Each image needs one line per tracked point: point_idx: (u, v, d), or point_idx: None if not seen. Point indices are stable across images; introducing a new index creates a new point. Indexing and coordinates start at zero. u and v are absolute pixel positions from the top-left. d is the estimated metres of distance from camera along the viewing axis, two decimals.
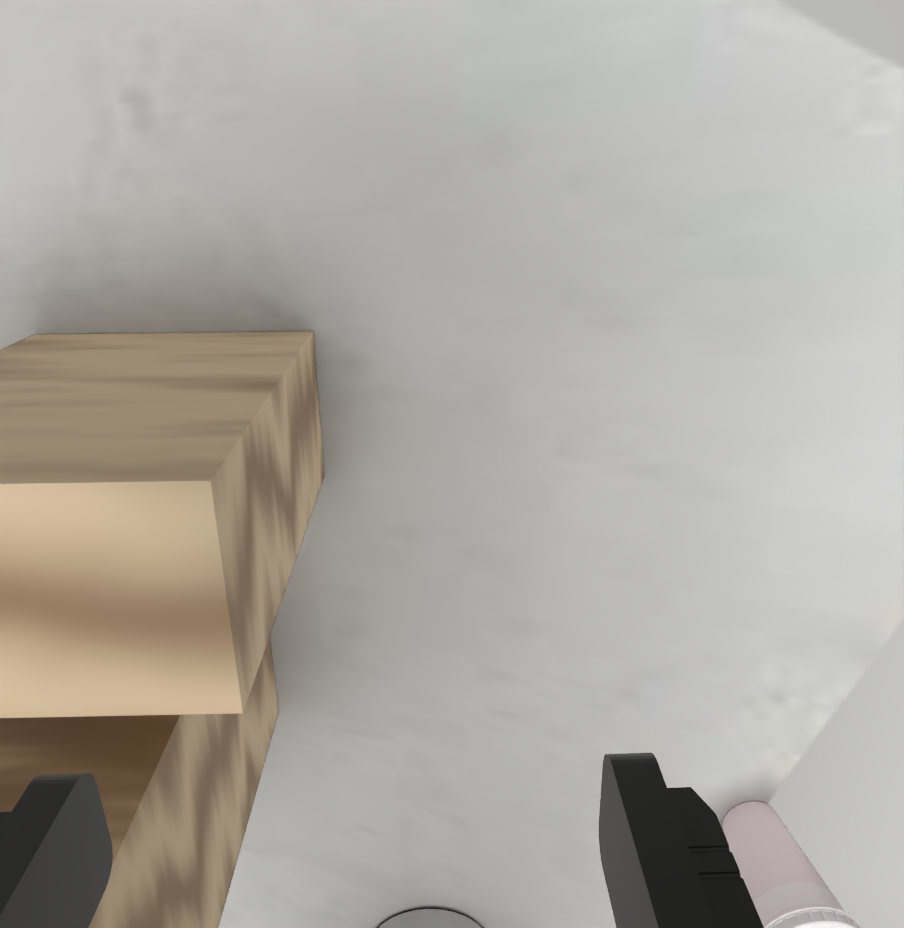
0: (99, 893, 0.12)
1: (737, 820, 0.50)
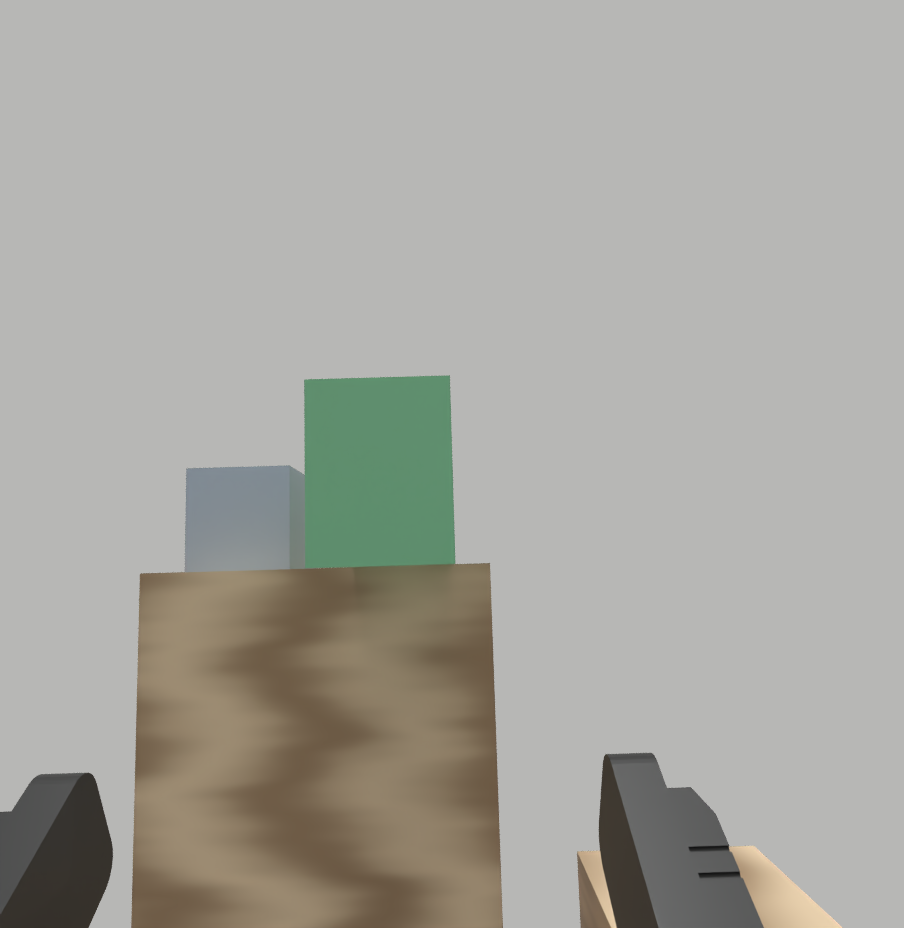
0: (99, 893, 0.12)
1: None
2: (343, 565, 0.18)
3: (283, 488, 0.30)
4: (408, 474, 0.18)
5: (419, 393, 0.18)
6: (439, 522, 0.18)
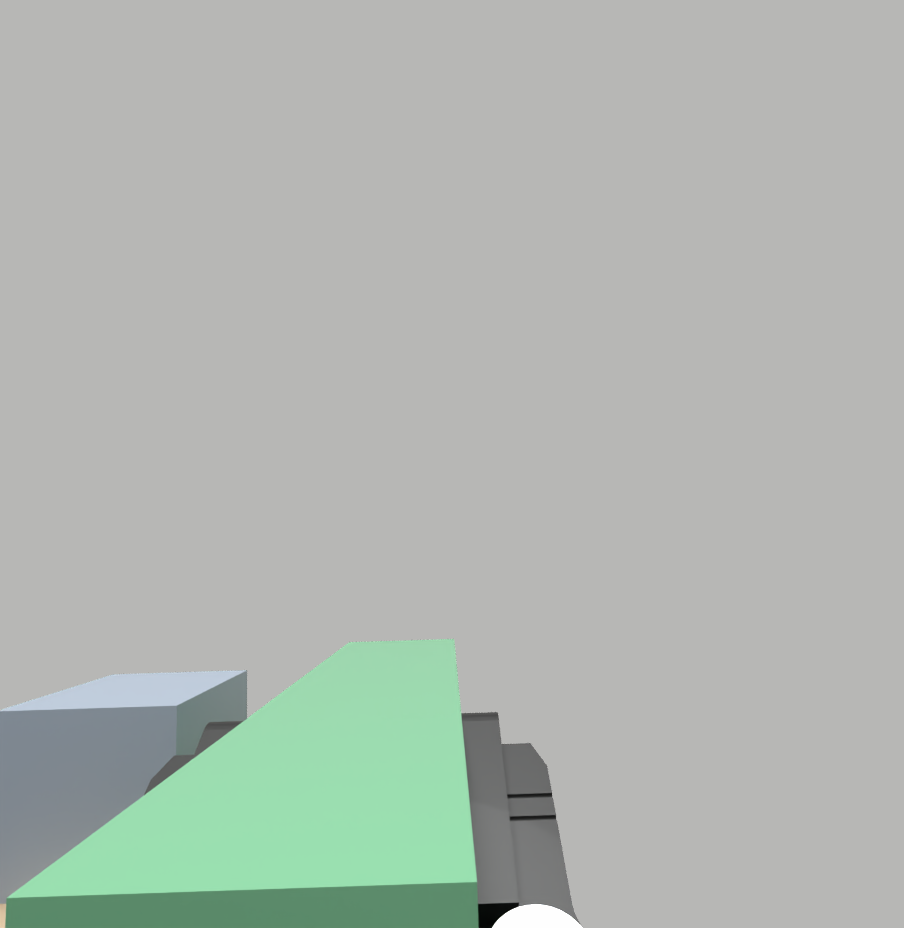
0: None
1: None
2: None
3: (164, 747, 0.17)
4: None
5: None
6: None
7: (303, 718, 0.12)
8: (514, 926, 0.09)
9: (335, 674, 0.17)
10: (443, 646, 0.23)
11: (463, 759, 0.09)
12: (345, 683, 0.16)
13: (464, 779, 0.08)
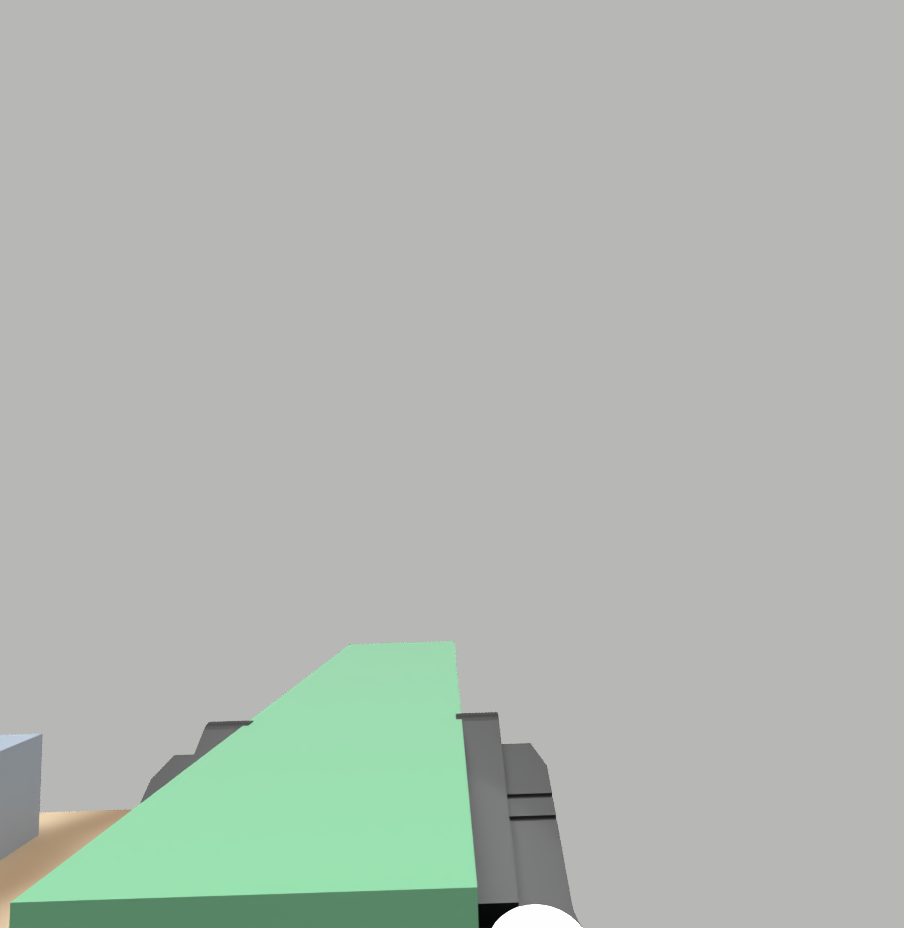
0: None
1: None
2: None
3: None
4: None
5: None
6: None
7: (304, 721, 0.12)
8: (514, 926, 0.09)
9: (336, 677, 0.18)
10: (443, 648, 0.23)
11: (463, 763, 0.09)
12: (346, 686, 0.16)
13: (464, 783, 0.09)
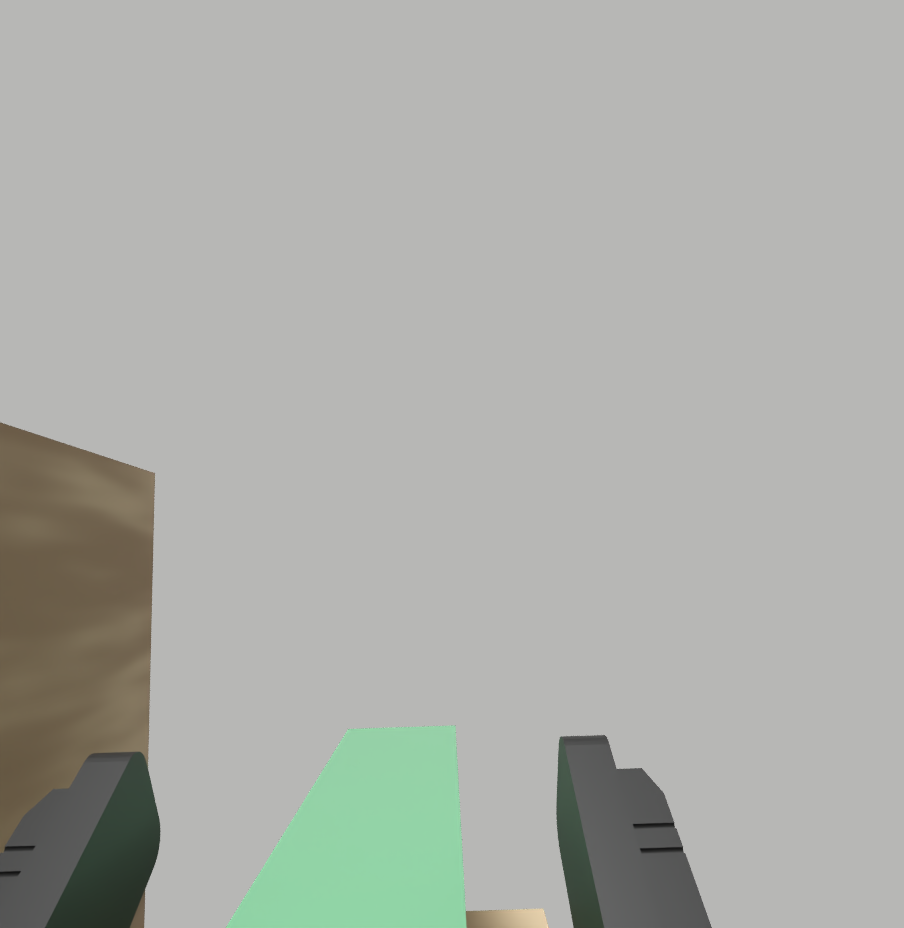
0: (149, 868, 0.12)
1: None
2: None
3: None
4: None
5: None
6: None
7: (299, 905, 0.12)
8: None
9: (333, 803, 0.17)
10: (444, 742, 0.23)
11: None
12: (344, 823, 0.16)
13: None
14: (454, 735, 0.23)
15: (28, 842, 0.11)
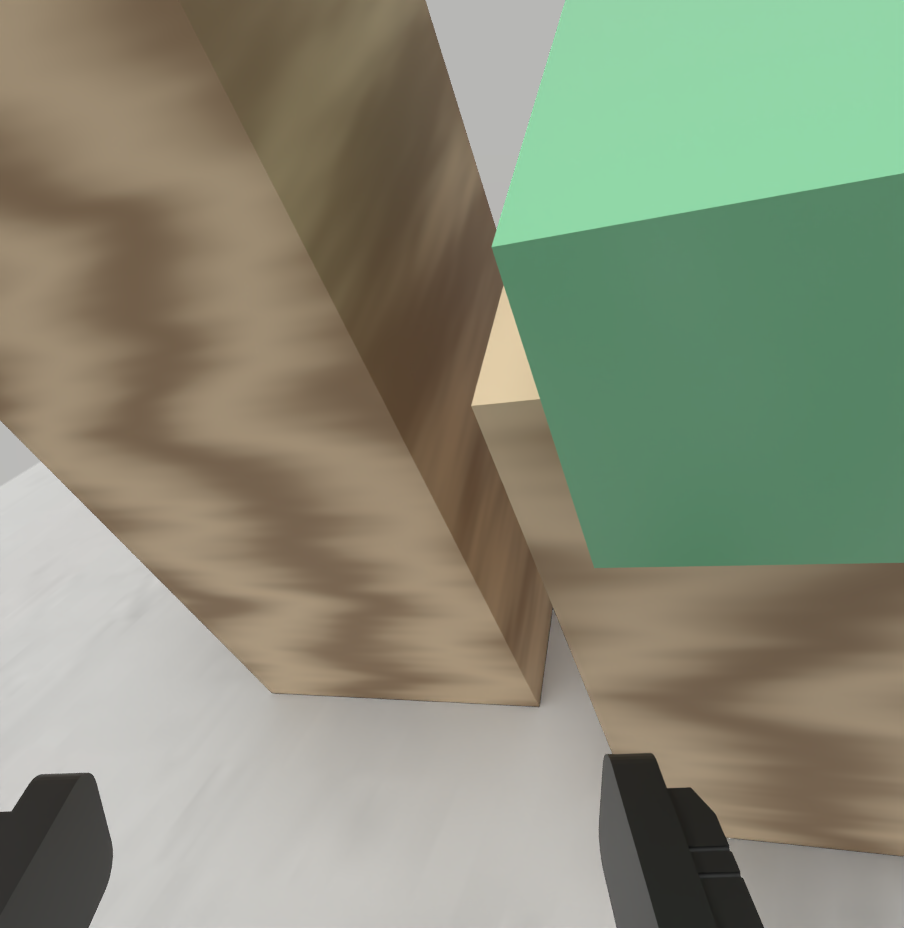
0: (99, 893, 0.12)
1: None
2: (670, 565, 0.09)
3: None
4: (819, 426, 0.07)
5: (871, 232, 0.05)
6: (899, 505, 0.07)
7: None
8: None
9: None
10: None
11: None
12: None
13: None
14: None
15: None
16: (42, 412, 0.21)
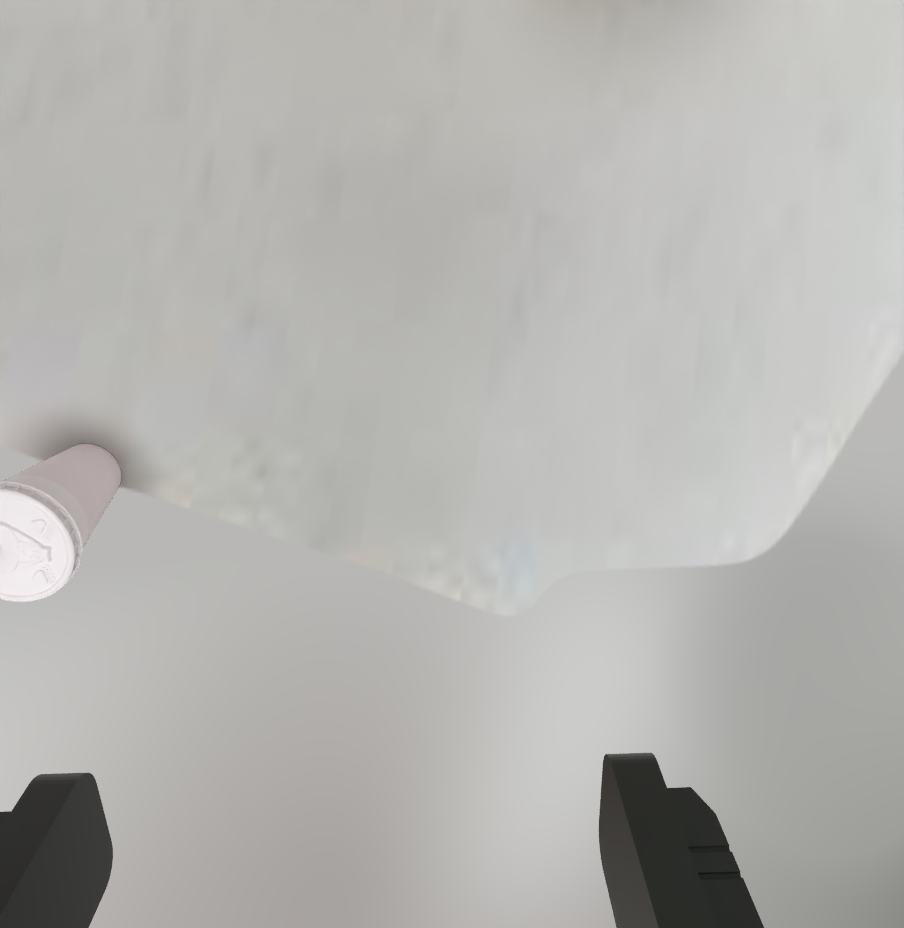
0: (99, 893, 0.12)
1: (100, 456, 0.45)
2: None
3: None
4: None
5: None
6: None
7: None
8: None
9: None
10: None
11: None
12: None
13: None
14: None
15: None
16: None
